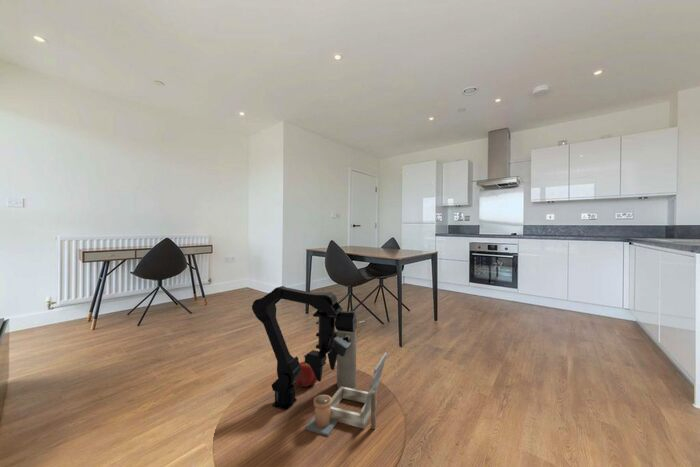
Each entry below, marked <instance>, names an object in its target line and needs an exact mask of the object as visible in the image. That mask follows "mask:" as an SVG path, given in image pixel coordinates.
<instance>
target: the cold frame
mask: <svg viewBox="0 0 700 467" xmlns="http://www.w3.org/2000/svg"><path fill="white" fill-rule="evenodd" d="M387 355H388V353H387V352H385V353H384V354H383V355H382V357H381V359H380V360H379V362H378V364H377V365H376V366H375V367H374V370H373V374H372V377H371V381H370V385H369V390H368V391H365V390H360V389H356V388H353V389H352V388H347V387H342V386H341V387H340V388H338V389H337V391H335V393H334V395H332V396H331V398H332V404H331V418H333V419H337V420H338V422H337V423H341V424H344V425H348V426H349V425H350V426H353V427H356V428H360V429H365V428H366V426H367V424H368V422H369V420H370V429H372V430H376V427H377V408H376V407H377V403H378V402H377V400H378V398H377V394H378V393H377V391H378V389H379V386H380V382H381V381H380V380H381V377H382V374H383V369H384V366H385V364H386V358H387ZM342 399H345V400H350V401H354V402H359V403H362V404H363V403H364V405H363V406H362V409H361V410H360V413H359V412H356V411H352V410H347V409H345V408H344V409H342V408H339V407H338V405H339V403H340V402H341V401H342Z"/></svg>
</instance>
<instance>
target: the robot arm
mask: <svg viewBox="0 0 700 467" xmlns="http://www.w3.org/2000/svg"><path fill="white" fill-rule="evenodd" d="M281 300H286V301H291V302H295V303H301V304H305V305H309V306H310V307H312V308H313V309H315V310H316V311H315V312H314V314H312V317H316V318H318V331H317V332H316V333H315V336H316V337H318V338H317V339H318V342H317V344H316V345H315V349H318V350H314V349H312V350H311V351H309V352H308V353H306V354H304V355H305V357H304V361H305V363H307V364H309V365H310V367H311V368H312V370H313V372H314V374H315V376H316V378H317V381H316V382H321V381H322V377H323V370H324V369H323V368H324V366H325V365H326V364H327V362H326V361H327V359H328V362H329V363H328V364H329V368H330V370H332V371H334V370H335V367H336V365H337V357H338V354H339V355H340V356H342V357H343V356H345V354H347V353H348V351H349V348H350V347H351V339H350V337H349V336H346V337H345V338H342V337H341V338H339V337H338V333H337V329H338V331H344V332H355V331H356V332H357V323H358V320H357V319H358V318H357V316H356V311H355V310H353V311H352V310H350V311H347V310H346V311H345V310H343V308H342V306H341V305H340V304H339V301H338V299H337V296H336V294H335V293H334V292H331V291H325V292H324V291H319V292H313V291H311V292H310V291H306V290H302V289H296V288H291V287H286V286H285V285H281V286H277V287H275V288H274V289H272V290H271V291H270V292H268V293H267V294H266V295H264V296H262V297H260V298H257V299H255V300H254V301H253V302H252V305H251V310H252V312H253V314H254V315H255V317H256V318H257V320H258V321H260V323H262V324H263V327H264V330H265V332H266V336H267V337H268V341H269V343H270V346H271V348H272V351H273V354H274V357H275V359H276V361H277V362H276V375H277V379H276V380H275V381H273V382H272V384H271V388H272V391H274V402H272V403H271V406H272V407H275V408H278V409H282V410H285V411H287V410H288V409H289V408H291V407H292V405H294V404H295V403H296V401H297V400H298V399H297V398H296V389H295V384H294V383H295V381H296V379H297V378H298V377H299V375H300V373H301V368H300V367H301V365H300V363H301V362H299V357H298V356H295V357H294V356H293V355H292V354H290V351H289V348H288V345H287V343H286V340H285V338H284V335H283V333H282V330H281V328H280V324H279V322H278V320H277V306H276V304H277V303H278V302H280V301H281Z"/></svg>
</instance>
